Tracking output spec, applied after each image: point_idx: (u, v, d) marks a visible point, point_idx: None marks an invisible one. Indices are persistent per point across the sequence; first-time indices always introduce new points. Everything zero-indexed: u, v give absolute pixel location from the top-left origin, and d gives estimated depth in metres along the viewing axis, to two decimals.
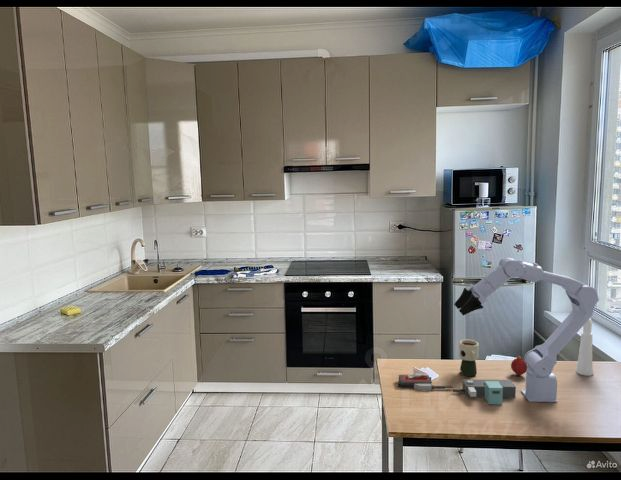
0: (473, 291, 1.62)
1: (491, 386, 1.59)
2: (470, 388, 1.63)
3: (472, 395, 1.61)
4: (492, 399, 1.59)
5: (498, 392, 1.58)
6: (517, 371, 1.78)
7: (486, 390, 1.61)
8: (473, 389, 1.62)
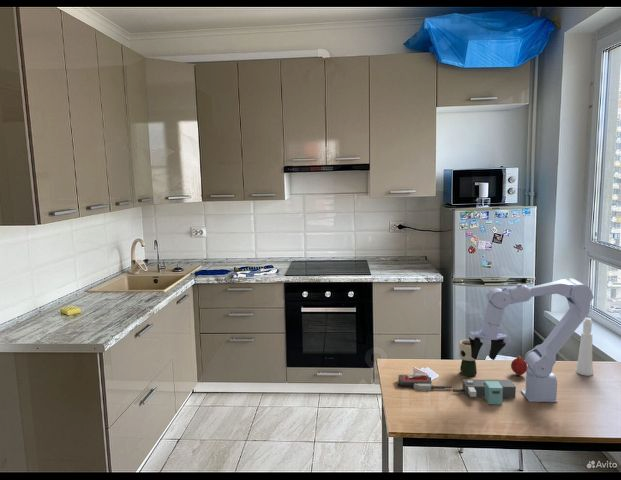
0: None
1: (491, 386, 1.59)
2: (470, 388, 1.63)
3: (472, 395, 1.61)
4: (492, 399, 1.59)
5: (498, 392, 1.58)
6: (517, 371, 1.78)
7: (486, 390, 1.61)
8: (473, 389, 1.62)
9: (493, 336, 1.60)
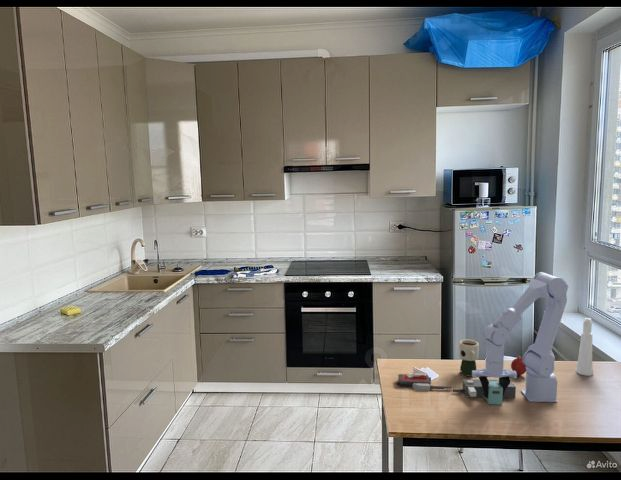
0: None
1: (491, 386, 1.59)
2: (470, 388, 1.63)
3: (472, 395, 1.61)
4: (492, 399, 1.59)
5: (498, 392, 1.58)
6: (517, 371, 1.78)
7: None
8: (473, 389, 1.62)
9: (495, 374, 1.57)
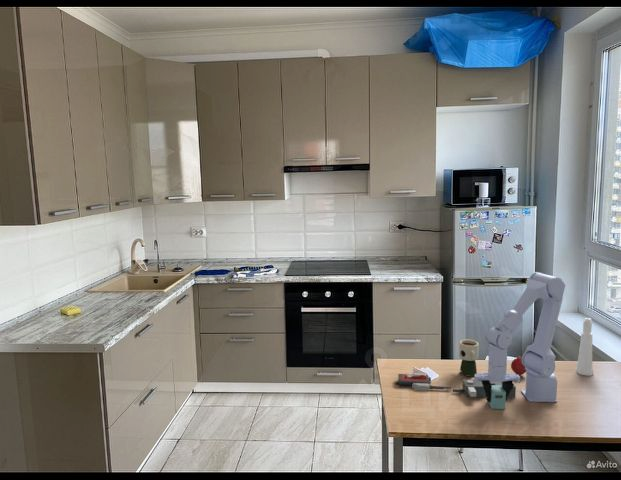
0: None
1: (494, 390, 1.56)
2: (470, 388, 1.63)
3: (472, 395, 1.61)
4: (495, 403, 1.56)
5: (501, 396, 1.55)
6: (517, 371, 1.78)
7: None
8: (473, 389, 1.62)
9: (498, 378, 1.54)
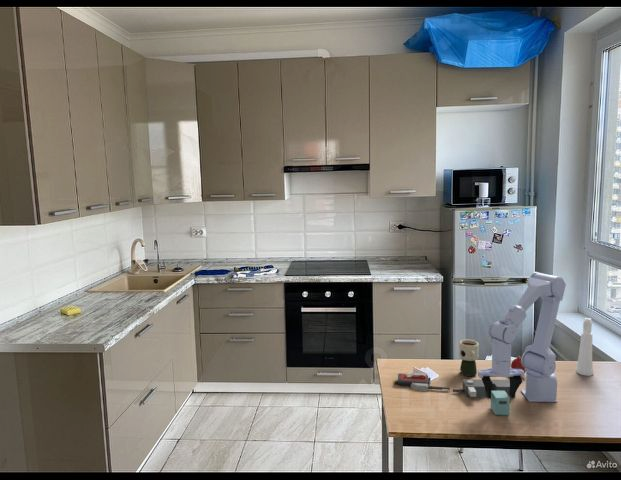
0: None
1: (497, 396, 1.52)
2: (470, 388, 1.63)
3: (472, 395, 1.61)
4: (499, 409, 1.52)
5: (505, 402, 1.51)
6: None
7: (492, 400, 1.55)
8: (473, 389, 1.62)
9: (503, 373, 1.50)
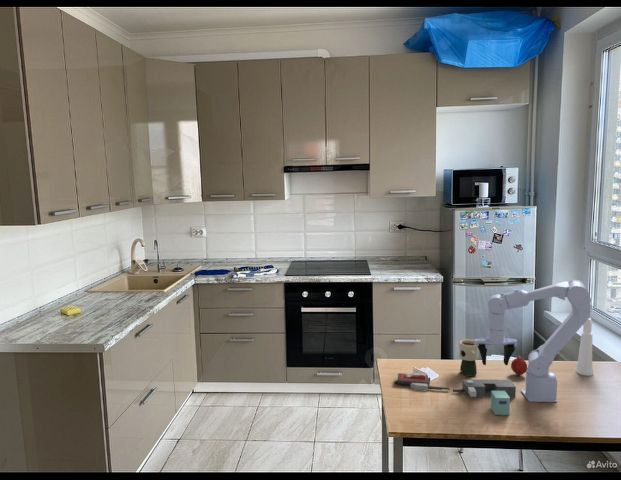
0: None
1: (497, 396, 1.52)
2: (470, 388, 1.63)
3: (472, 395, 1.61)
4: (499, 409, 1.52)
5: (505, 402, 1.51)
6: (517, 371, 1.78)
7: (492, 400, 1.55)
8: (473, 389, 1.62)
9: (497, 341, 1.64)
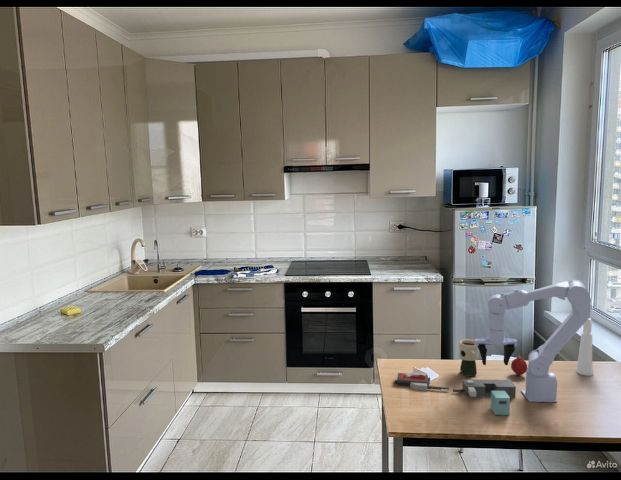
0: None
1: (497, 396, 1.52)
2: (470, 388, 1.63)
3: (472, 395, 1.61)
4: (499, 409, 1.52)
5: (505, 402, 1.51)
6: (517, 371, 1.78)
7: (492, 400, 1.55)
8: (473, 389, 1.62)
9: (497, 341, 1.64)
